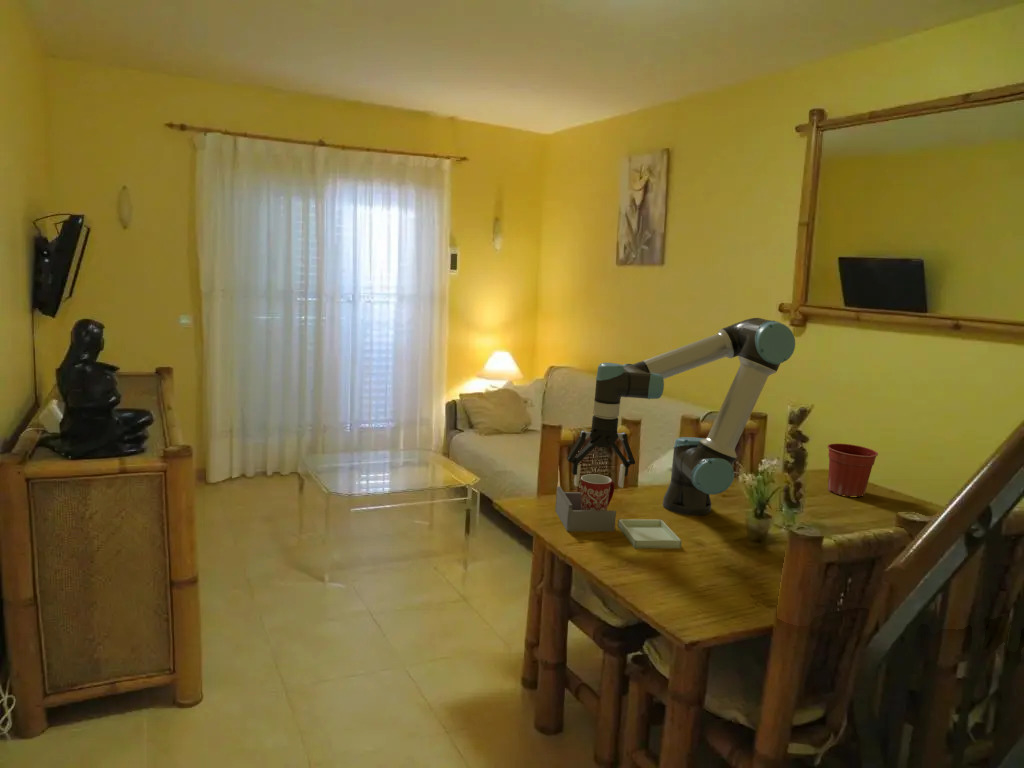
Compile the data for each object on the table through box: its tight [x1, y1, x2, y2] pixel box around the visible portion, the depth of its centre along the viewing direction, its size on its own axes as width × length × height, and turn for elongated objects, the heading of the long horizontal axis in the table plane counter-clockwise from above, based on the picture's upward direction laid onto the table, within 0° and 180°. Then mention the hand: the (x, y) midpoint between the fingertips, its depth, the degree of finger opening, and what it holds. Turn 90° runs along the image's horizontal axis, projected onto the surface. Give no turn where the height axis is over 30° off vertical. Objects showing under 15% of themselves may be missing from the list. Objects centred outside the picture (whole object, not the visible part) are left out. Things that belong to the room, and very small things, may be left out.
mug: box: [580, 473, 616, 511], centre depth 217 cm, size 13×9×14 cm
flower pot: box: [827, 443, 879, 496], centre depth 260 cm, size 16×16×16 cm
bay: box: [554, 486, 617, 532], centre depth 217 cm, size 14×17×8 cm
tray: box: [617, 518, 682, 549], centre depth 208 cm, size 13×16×2 cm
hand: (598, 485), depth 216 cm, fingers open, 13 cm apart
